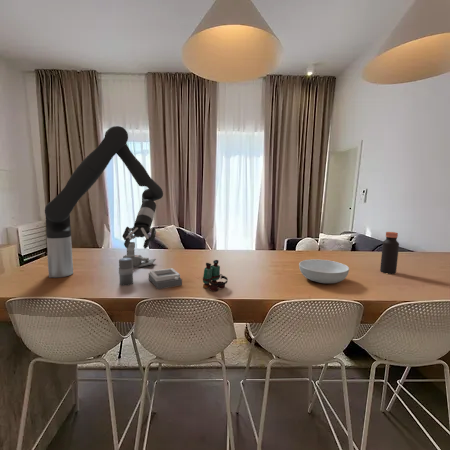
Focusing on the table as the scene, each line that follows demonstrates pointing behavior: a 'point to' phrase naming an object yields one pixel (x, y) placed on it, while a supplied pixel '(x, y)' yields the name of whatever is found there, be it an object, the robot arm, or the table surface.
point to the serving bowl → (323, 270)
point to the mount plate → (165, 278)
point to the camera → (137, 257)
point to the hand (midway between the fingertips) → (135, 247)
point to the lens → (126, 271)
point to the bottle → (389, 253)
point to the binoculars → (213, 277)
